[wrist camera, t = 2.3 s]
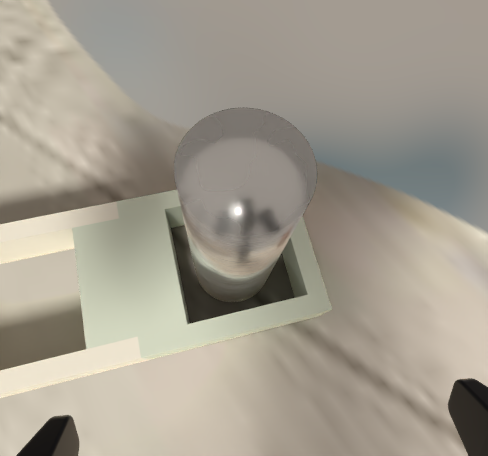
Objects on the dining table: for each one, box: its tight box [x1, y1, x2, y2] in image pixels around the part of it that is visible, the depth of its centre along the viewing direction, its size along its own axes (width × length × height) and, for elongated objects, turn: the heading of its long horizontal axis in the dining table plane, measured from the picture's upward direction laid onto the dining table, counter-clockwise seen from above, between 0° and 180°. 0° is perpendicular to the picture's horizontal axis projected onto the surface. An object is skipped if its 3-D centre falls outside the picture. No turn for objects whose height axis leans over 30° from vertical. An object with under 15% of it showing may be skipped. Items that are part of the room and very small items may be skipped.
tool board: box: [0, 190, 332, 398], centre depth 21 cm, size 19×8×3 cm, turn 104°
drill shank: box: [174, 108, 317, 302], centre depth 18 cm, size 4×4×12 cm
